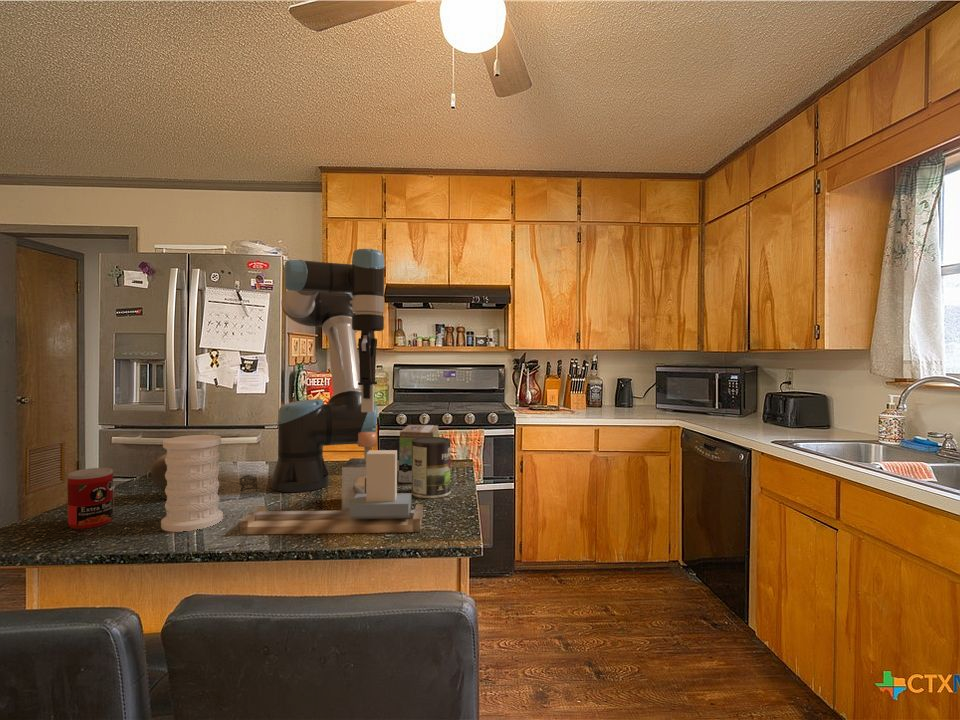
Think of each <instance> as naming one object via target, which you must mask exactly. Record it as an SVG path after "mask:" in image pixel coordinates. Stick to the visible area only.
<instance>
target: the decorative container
mask: <svg viewBox="0 0 960 720" xmlns="http://www.w3.org/2000/svg"><path fill="white" fill-rule="evenodd" d="M221 444H222V436H221V435H215V434H214V435H213V434H193V435H183V436H181V435H180V436H174V437H170V438H166V439H163V440H162V448H163V449H164V450H166V454H167V456H166V458H165V463H166V465H167V471H166V473H165V478H166V480H167V486H166V488H165V493H166V495H167V499H166V501H165V504H164V509H165V510H166V516H164V517H163V518H161V521H160V528H161V529H162V530H163V531H165V532H170V533H184V532H183V531H187V532H193V530H195V531H199V529H200V530H204V529H207V527H208V528H211V527H213V525H214V526H215V524H216V525H218V524H220V523H221V522H222V521H223V520H224V512H223V510H220V509H219V507H218V506H219V503H220V495H219V489H220V481H219V480H218V479H219V478H218V475H219V473H220V467H219V465H218V463H219V462H218V461H219V459H220V453H219V451H218V448H219V447H218V446H220V445H221ZM222 519H223V520H222ZM220 521H221V522H220ZM219 522H220V523H219ZM217 523H218V524H217ZM210 526H211V527H210ZM203 528H204V529H203ZM197 529H198V530H197Z"/></svg>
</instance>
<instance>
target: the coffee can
mask: <svg viewBox="0 0 960 720" xmlns="http://www.w3.org/2000/svg"><path fill="white" fill-rule="evenodd" d="M451 443H452V439H450V438H449V437H444V436H443V437H442V436H438V437H420V438H415V439H412V483H411V496H414V497H416V498H420V499H439V498H445V497H447V496H450V494H451Z"/></svg>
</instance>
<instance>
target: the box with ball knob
mask: <svg viewBox="0 0 960 720" xmlns="http://www.w3.org/2000/svg"><path fill="white" fill-rule="evenodd" d="M356 494H366V464H364V458H361V457H359V458H358V457H357V458H355V457H354V458H349V460H348V461H346V463H345V464H344V465H342V467H341V511H343V510H350V503H351V502H352V500H353V499H354V497H355V496H356Z"/></svg>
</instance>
